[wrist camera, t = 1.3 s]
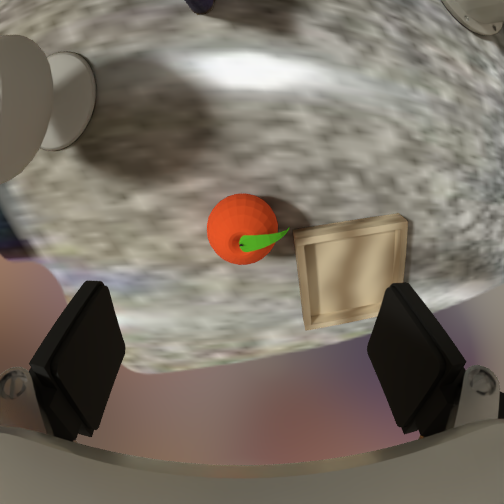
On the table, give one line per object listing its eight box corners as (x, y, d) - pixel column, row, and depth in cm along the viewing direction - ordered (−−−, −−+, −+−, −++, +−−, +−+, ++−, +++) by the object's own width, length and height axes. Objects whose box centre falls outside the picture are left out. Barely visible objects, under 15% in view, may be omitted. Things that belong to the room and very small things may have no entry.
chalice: (121, 49, 23) (32, 24, 9) (89, 168, 29) (3, 219, 16) (32, 43, 20) (-57, 41, 7) (10, 147, 27) (-73, 183, 13)
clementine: (281, 179, 30) (289, 200, 24) (288, 239, 33) (296, 272, 27) (205, 190, 31) (193, 215, 24) (218, 248, 34) (211, 283, 28)
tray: (398, 213, 32) (407, 221, 29) (392, 300, 38) (399, 311, 35) (292, 229, 33) (295, 239, 30) (302, 318, 39) (305, 330, 36)
